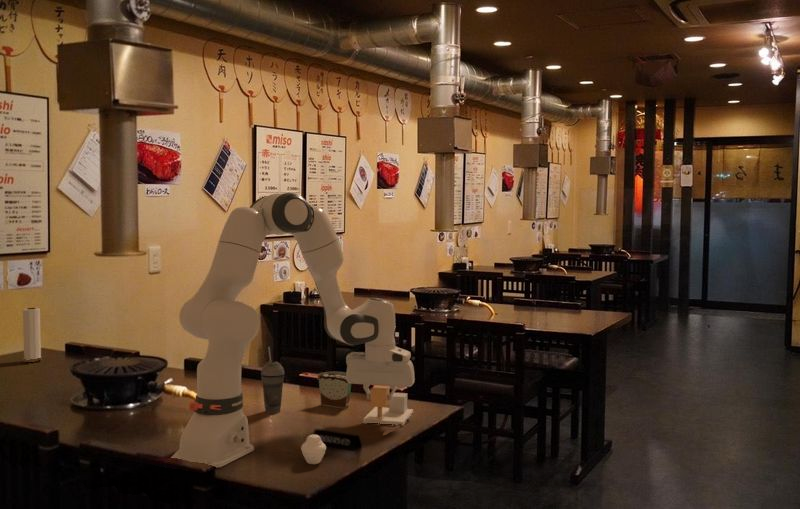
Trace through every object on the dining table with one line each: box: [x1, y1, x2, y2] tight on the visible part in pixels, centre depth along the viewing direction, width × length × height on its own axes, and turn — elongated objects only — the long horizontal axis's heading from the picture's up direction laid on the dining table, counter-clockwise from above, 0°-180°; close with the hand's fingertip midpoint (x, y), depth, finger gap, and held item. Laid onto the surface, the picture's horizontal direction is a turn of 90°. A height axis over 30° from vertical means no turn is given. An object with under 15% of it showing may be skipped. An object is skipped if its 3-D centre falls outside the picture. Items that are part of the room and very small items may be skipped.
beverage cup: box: [260, 346, 286, 415], centre depth 230 cm, size 7×7×20 cm
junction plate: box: [362, 392, 414, 426], centre depth 225 cm, size 14×12×6 cm
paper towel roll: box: [22, 307, 42, 360], centre depth 299 cm, size 7×6×21 cm
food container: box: [316, 371, 353, 410], centre depth 240 cm, size 12×6×10 cm, turn 63°
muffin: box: [300, 433, 327, 465], centre depth 186 cm, size 6×6×7 cm
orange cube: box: [369, 385, 391, 408], centre depth 222 cm, size 5×5×5 cm
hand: (380, 399), depth 222 cm, fingers closed on orange cube, 5 cm apart
